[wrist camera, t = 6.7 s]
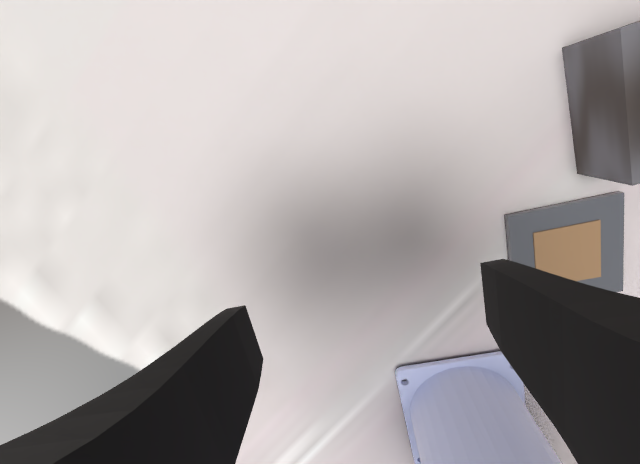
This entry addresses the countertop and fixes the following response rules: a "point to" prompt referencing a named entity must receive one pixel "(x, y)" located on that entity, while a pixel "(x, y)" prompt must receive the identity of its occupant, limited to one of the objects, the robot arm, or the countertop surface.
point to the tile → (572, 240)
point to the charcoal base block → (606, 104)
